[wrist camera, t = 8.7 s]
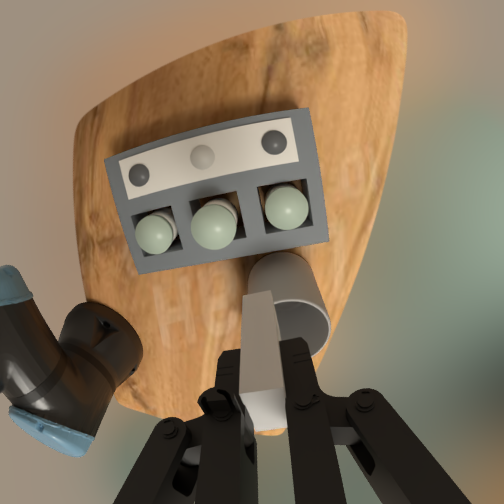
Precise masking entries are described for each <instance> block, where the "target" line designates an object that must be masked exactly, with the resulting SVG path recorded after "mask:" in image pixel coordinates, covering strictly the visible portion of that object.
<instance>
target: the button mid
mask: <svg viewBox="0 0 504 504" xmlns="http://www.w3.org/2000/svg"><path fill="white" fill-rule="evenodd" d="M237 221H238V212H237V209H236V207H235V206H234V204H233V203H232V202H230V201H229V200H227V199H224V198H214V199H212V200H210V201H208V202H207V203H206V204H205V205H204V206H203V207H202V208H201V209H199V210H198V211H197V213H196V214H195V215H194V217H193V219H192V221H191V233H192V236H193V238H194V239H195V241H196V242H197V243H198V244H199V245H201V246H202V247H204V248H207V249H211V250H218V249H222V248H224V247H226V246H227V245H229V244H230V243H231V242H232V240H233V239H234V236H235V233H236V228H237Z"/></svg>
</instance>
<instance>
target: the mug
mask: <svg viewBox="0 0 504 504" xmlns="http://www.w3.org/2000/svg"><path fill="white" fill-rule="evenodd" d="M268 290H271V293H272V298H273V302H274V307H275V311H276V316H277V321H278V325H279V330H280V337H281V341H282V340H288V339H292V338H297V337H302V338H303V339H304V340H305V341H306V342H307V343H308V346H309V350H310V354H311V357H313V356H314V355H316V354H317V353H318V352H319V351H320V350H321V349H322V348H323V347H324V346H325V344H326V343H327V341H328V339H329V336H330V332H331V323H330V318H329V315H328V312H327V310H326V307H325V304H324V301H323V299H322V296H321V293H320V291H319V288H318V286H317V283H316V280H315V277H314V274H313V271H312V269H311V267H310V266H309V264H308V263H307V262H306V261H305V260H304V259H303V258H301V257H300V256H298V255H296V254H293V253H289V252H276V253H272V254H269V255H267V256H265V257H263V258H261V259H260V260H259V261H258V262H257V263H256V264H255V265H254V266H253V268H252V270H251V272H250V274H249V278H248V294H253V293H258V292H263V291H268Z"/></svg>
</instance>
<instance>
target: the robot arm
mask: <svg viewBox="0 0 504 504" xmlns="http://www.w3.org/2000/svg"><path fill="white" fill-rule="evenodd" d="M32 297H33V294H32V293H31V292H30V291H29V290H28V288H27V286H26V284H25V282H24V280H23V278H22V276H21V274H20V272H19V271H18V270H17V269H16V268H15V267H13V266H11V265H4V266H1V267H0V393H1V392H2V393H3V394H4V395H5V396H6V397H7V398H8V399H9V400H10V402H11V403H12V406H10V407H9V416H10V418H12V420H13V421H14V422H15V423H16V424H17V425H18V426H19V427H20V428H21V429H23V430H24V431H25V432H27V433H28V434H29V435H31V436H32V437H34V438H35V439H37V440H38V441H40V442H42V443H43V444H45V445H47V446H48V447H50V448H52V449H54V450H56V451H59V452H60V453H63V454H65V455H68V456H72V457H81V456H83V455H85V454H86V452H87V450H88V448H89V446H90V444H91V443H92V441H94V439H95V436H96V433H97V430H98V428H99V426H100V424H101V421H102V419H103V417H104V414H105V412H106V410H107V407H108V405H109V403H110V401H111V398H112V396H113V394H114V392H115V390H116V388H117V387H119V386H120V385H121V384H122V383H123V382H124V381H125V380H127V379H128V378H129V377H130V376H131V375H132V374H133V373H134V372H135V371H136V370H137V369H138V367H139V364H140V362H141V360H142V357H143V348H142V344H141V341H140V339H139V337H138V335H137V334H136V332H135V331H134V329H133V328H132V327H131V326H130V324H129V323H128V322H127V321H126V320H125V319H124V318H122V317H121V316H120V315H119V314H117V313H116V312H114V311H113V310H111V309H109V308H107V307H105V306H103V305H100V304H97V303H92V302H85V303H81V304H78V305H77V306H75V307H74V308H73V309H72V311H71V312H70V313H69V314H68V315H67V317H66V319H65V323H64V325H63V328H62V331H61V334H60V337H59V340H58V341H57V339H56V338H55V336H54V335H53V333H52V331H51V330H50V328H49V327H48V325H47V324H46V322H45V320H44V318H43V317H42V315H41V313H40V311H39V309H38V307H37V305H36V304H35V302H34V300H33V298H32ZM197 402H198V404H199V406H200V407H201V409H202V410H203V412H204V415H202V416H200V417H198V418H195V419H192V420H189V421H186V422H183V421H182V420H181V419H179V418H176V417H169V418H165V419H163V420H162V421H160V422H159V423H158V424H157V425H156V426H155V428H154V430H153V431H152V433H151V435H150V437H149V439H148V441H147V443H146V444H145V446H144V448H143V450H142V452H141V453H140V455H139V457H138V459H137V461H136V463H135V464H134V466H133V468H132V470H131V472H130V474H129V475H128V477H127V479H126V481H125V483H124V485H123V486H122V488H121V490H120V492H119V494H118V495H117V497H116V499H115V501H114V503H113V504H194V501H195V504H258V474H257V443H256V439H255V437H254V428H255V430H256V431H265V430H272V429H279V428H285V427H287V428H288V436H289V446H290V455H291V465H292V474H293V484H294V494H295V504H347V503H346V498H345V493H344V488H343V483H342V478H341V474H340V469H339V465H338V460H337V455H336V451H335V446H334V445H346V447H347V448H348V450H349V451H350V453H351V455H352V456H353V458H354V459H355V461H356V463H357V464H358V466H359V467H360V469H361V471H362V472H363V474H364V476H365V477H366V479H367V480H368V482H369V483H370V485H371V486H372V488H373V490H374V491H375V493H376V494H377V496H378V498H379V499H380V501H381V502H382V503H383V504H471V503H470V501H469V500H468V499H467V497H466V496H465V495H464V494H463V493H462V491H461V490H460V489H459V488H458V486H457V485H456V484H455V483H454V481H453V480H452V479H451V478H450V476H449V475H448V474H447V473H446V472H445V471H444V469H443V468H442V467H441V465H440V464H439V463H438V462H437V461H436V460H435V458H434V457H433V456H432V454H431V453H430V452H429V451H428V450H427V448H426V447H425V446H424V445H423V444H422V442H421V441H420V440H419V439H418V437H417V436H416V435H415V434H414V433H413V432H412V430H411V429H410V428H409V427H408V425H407V424H406V423H405V422H404V421H403V419H402V418H401V417H400V416H399V415H398V413H397V412H396V411H395V410H394V409H393V407H392V406H391V405H390V404H389V403H388V402H387V400H386V399H385V398H384V397H383V395H382V394H381V393H379V392H378V391H376V390H374V389H370V388H366V389H360V390H357V391H355V392H354V393H352V394H351V395H350V396H349V397H333V396H329V395H327V394H325V393H324V392H323V391H322V390H321V389H320V387H319V385H318V382H317V377H316V373H315V369H314V366H313V362H312V358H311V354H310V350H309V346H308V343H307V342H306V341H305V340H304V339H303V338H302V337H297V338H292V339H288V340H282V341H281V337H280V330H279V325H278V321H277V316H276V311H275V307H274V302H273V298H272V293H271V290H268V291H263V292H258V293H253V294H248V295H243V301H242V326H241V349H235V350H228V351H223V353H222V354H221V356H220V357H219V359H218V363H217V371H216V379H215V387H213V388H210V389H208V390H206V391H204V392H203V393H202V394H201V395H200V397H199V399H198V401H197Z"/></svg>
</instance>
